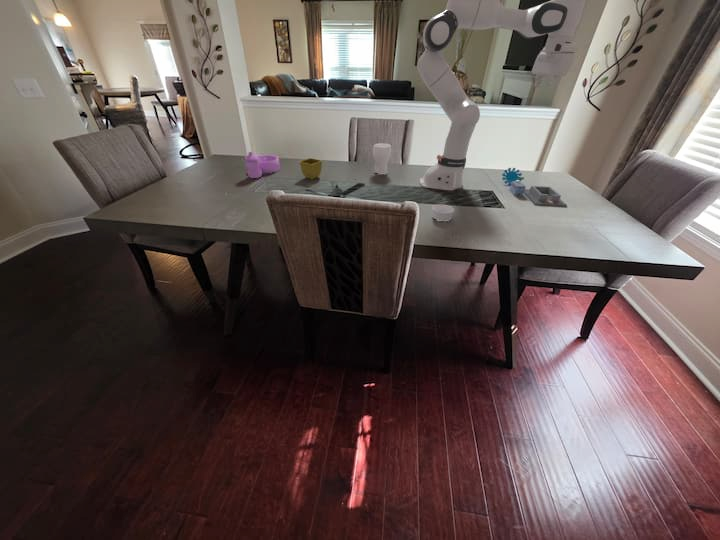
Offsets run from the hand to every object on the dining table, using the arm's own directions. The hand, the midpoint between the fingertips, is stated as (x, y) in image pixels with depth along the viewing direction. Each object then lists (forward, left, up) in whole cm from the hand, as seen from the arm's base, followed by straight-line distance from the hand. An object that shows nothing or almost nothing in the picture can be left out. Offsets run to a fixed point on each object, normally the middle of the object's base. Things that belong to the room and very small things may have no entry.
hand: (543, 88), depth 120 cm
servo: (+1, -7, -44) cm, 45 cm away
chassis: (+12, -12, -44) cm, 47 cm away
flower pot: (-105, +1, -44) cm, 114 cm away
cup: (-68, +15, -44) cm, 82 cm away
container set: (-135, +6, -44) cm, 143 cm away
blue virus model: (+3, +7, -44) cm, 45 cm away
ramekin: (-40, -40, -44) cm, 72 cm away
